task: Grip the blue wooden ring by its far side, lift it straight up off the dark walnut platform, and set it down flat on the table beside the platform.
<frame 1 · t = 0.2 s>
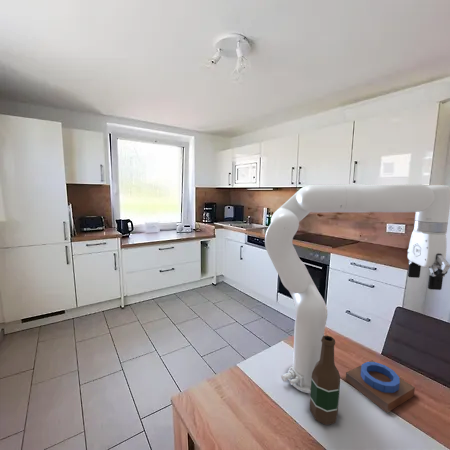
hand: (423, 282, 74), 37 cm above the table, tool pointing down, fingers open, 9 cm apart
beer bottle: (323, 414, 71), on the table
platform: (378, 387, 81), on the table
ring: (379, 379, 80), point 3 cm above the table, touching platform
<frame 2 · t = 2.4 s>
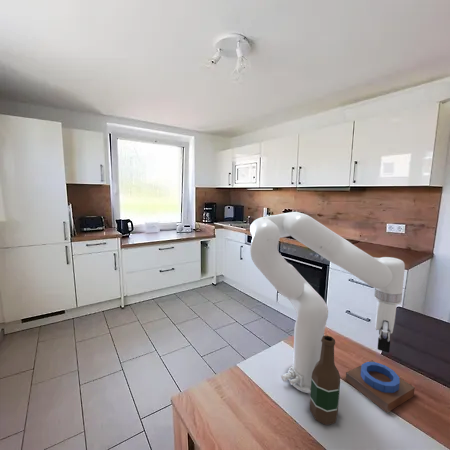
hand: (383, 342, 83), 14 cm above the table, tool pointing down, fingers open, 9 cm apart
nothing on the table moved.
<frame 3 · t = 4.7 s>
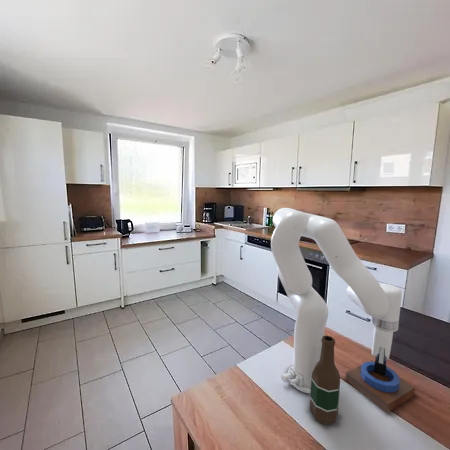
hand: (379, 370, 84), 3 cm above the table, tool pointing down, fingers closed on ring, 2 cm apart
ring: (379, 379, 80), point 3 cm above the table, touching gripper
everything else where it was.
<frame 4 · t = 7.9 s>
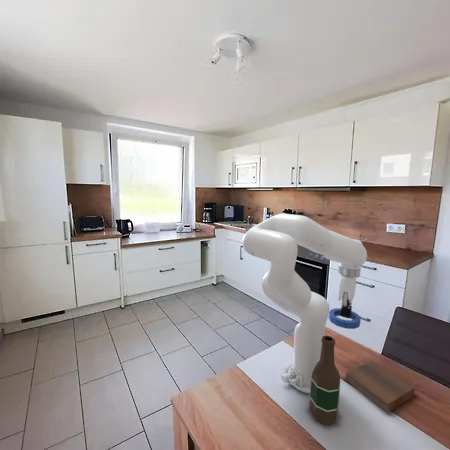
hand: (346, 315, 96), 16 cm above the table, tool pointing down, fingers closed on ring
ring: (344, 320, 93), point 16 cm above the table, touching gripper
everything else where it was.
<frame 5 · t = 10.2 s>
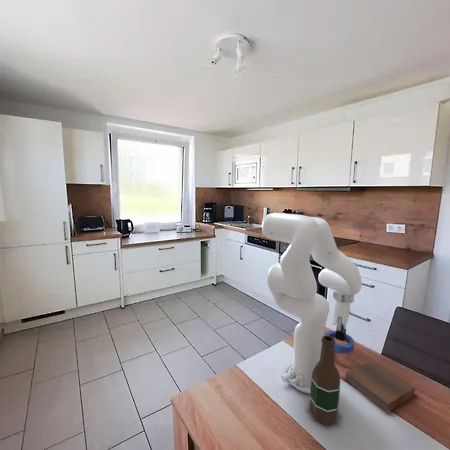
hand: (340, 337, 100), 5 cm above the table, tool pointing down, fingers closed on ring, 2 cm apart
ring: (338, 344, 96), point 5 cm above the table, touching gripper
everything else where it was.
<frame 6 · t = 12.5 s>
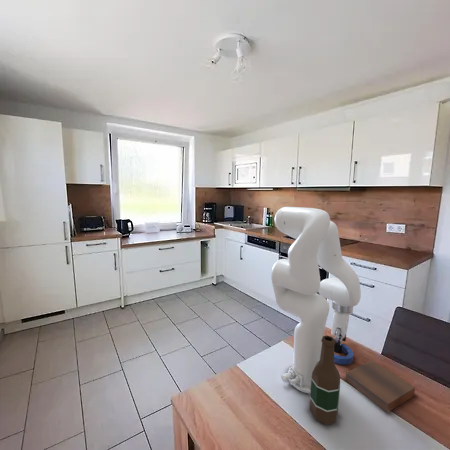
hand: (339, 346, 100), 2 cm above the table, tool pointing down, fingers open, 9 cm apart
ring: (337, 355, 97), on the table
everything else where it was.
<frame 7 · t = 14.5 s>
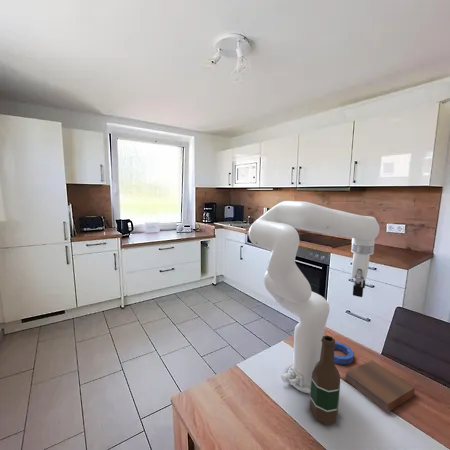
hand: (358, 291, 95), 26 cm above the table, tool pointing down, fingers open, 9 cm apart
nothing on the table moved.
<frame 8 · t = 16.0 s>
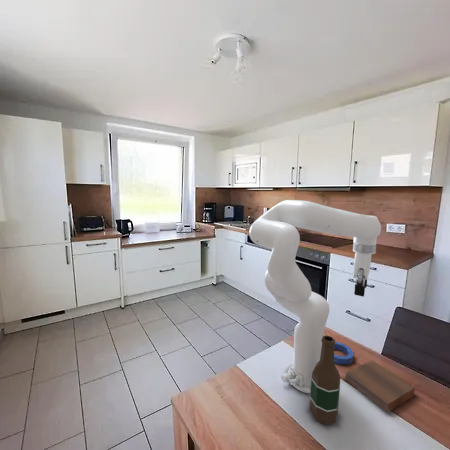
hand: (360, 291, 94), 26 cm above the table, tool pointing down, fingers open, 9 cm apart
nothing on the table moved.
at the end: ring inside the target area (0.4 cm from its centre), on the table; ring touching table; ring tilted 0° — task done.
